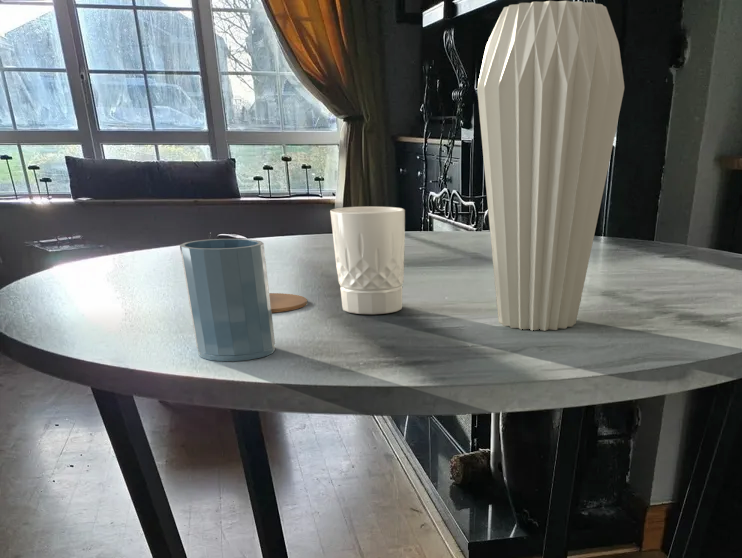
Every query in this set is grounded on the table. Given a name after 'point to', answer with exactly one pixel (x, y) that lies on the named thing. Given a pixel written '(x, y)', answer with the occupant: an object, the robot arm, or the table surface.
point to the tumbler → (229, 298)
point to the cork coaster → (286, 302)
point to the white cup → (369, 257)
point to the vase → (547, 152)
